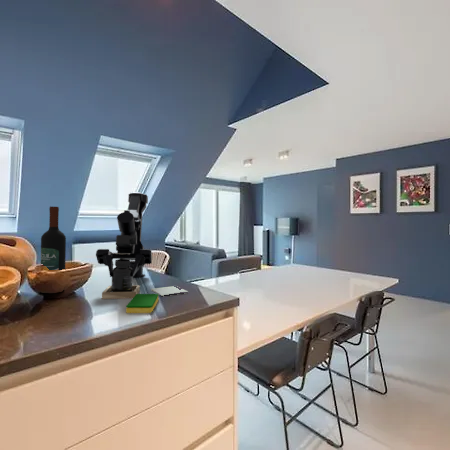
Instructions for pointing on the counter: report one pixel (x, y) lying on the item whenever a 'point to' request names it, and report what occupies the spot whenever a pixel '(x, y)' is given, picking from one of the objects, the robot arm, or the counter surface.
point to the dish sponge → (142, 303)
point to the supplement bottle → (122, 276)
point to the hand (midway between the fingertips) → (121, 276)
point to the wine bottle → (53, 244)
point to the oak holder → (120, 293)
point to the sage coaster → (167, 290)
